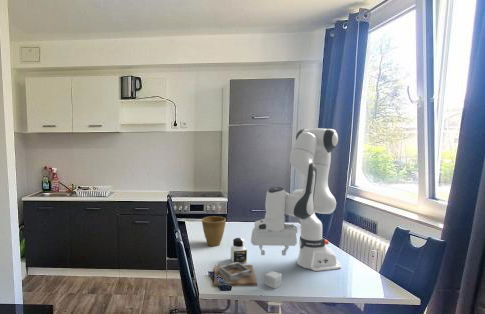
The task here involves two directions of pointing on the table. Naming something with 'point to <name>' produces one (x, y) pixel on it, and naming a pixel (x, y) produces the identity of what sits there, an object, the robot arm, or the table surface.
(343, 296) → the table surface
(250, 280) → the pocket board
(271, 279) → the small box
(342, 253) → the table surface
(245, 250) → the medicine bottle
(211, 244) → the plant pot
